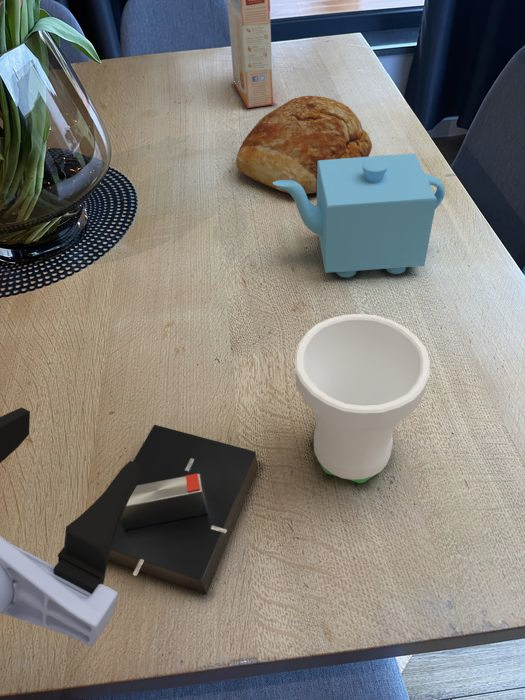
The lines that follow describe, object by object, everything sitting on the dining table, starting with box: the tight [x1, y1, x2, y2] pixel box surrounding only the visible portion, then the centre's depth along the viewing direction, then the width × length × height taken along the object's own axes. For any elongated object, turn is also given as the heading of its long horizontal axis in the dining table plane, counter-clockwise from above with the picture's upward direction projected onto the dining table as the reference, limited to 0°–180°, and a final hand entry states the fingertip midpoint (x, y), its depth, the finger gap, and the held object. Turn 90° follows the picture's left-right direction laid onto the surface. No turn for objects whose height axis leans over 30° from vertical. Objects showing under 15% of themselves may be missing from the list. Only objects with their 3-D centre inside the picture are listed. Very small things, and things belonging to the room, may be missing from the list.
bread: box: [236, 95, 373, 195], centre depth 92 cm, size 20×18×10 cm
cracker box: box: [226, 0, 274, 109], centre depth 111 cm, size 14×6×21 cm, turn 13°
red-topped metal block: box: [120, 474, 208, 530], centre depth 48 cm, size 8×2×4 cm, turn 101°
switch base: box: [108, 424, 258, 595], centre depth 52 cm, size 14×12×3 cm
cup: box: [294, 313, 431, 484], centre depth 51 cm, size 11×11×14 cm
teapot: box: [273, 153, 446, 278], centre depth 74 cm, size 22×11×14 cm, turn 92°
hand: (78, 446), depth 34 cm, fingers open, 7 cm apart
